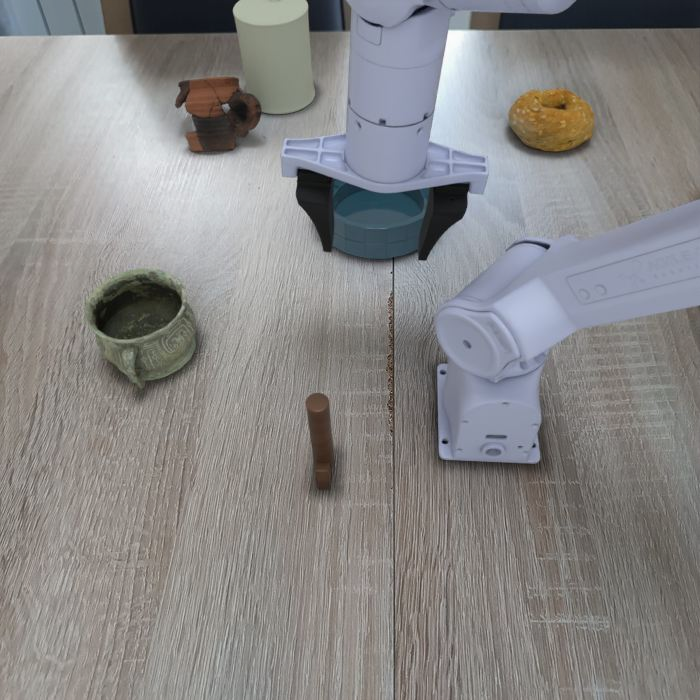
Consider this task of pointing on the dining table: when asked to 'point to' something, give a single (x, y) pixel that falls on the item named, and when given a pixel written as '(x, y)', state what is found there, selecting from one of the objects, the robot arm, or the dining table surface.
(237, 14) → the can
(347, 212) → the bowl
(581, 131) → the bagel
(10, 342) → the dining table surface
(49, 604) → the dining table surface
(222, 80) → the pottery mug
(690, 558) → the dining table surface
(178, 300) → the vessel
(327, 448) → the stirring stick
